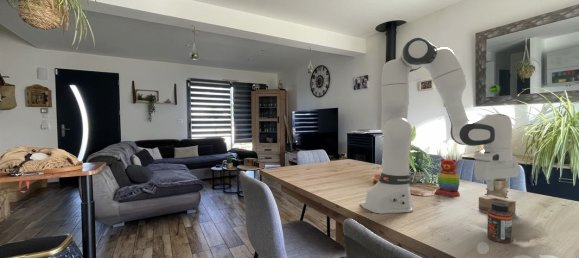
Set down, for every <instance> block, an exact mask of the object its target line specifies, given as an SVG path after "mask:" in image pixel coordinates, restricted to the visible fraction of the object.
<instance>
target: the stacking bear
mask: <svg viewBox="0 0 579 258" xmlns="http://www.w3.org/2000/svg"><path fill="white" fill-rule="evenodd" d="M440 168H441V169H440V170H439V173H438V176H437V183H438V188H437V189H435V190H436V192H435V193H434V194H435V195H437V196H439V195H440V196H446V197H450V198H457V197H458V198H459V197H460V195H461V193H460V192H459V187H460V178H459V175H458V172H457V171H456V168H457V160H456V159H454V158H453V159H449V158H448V159H447V158H446V159H445V158H441V159H440Z"/></svg>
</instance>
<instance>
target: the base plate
mask: <svg viewBox="0 0 579 258" xmlns="http://www.w3.org/2000/svg"><path fill="white" fill-rule="evenodd" d="M470 209H471V210H474V211H476V212H479V213H480V212H481V213H483V214H486V215H488V212H487V211H484V210H480V209H479V206H478V207H472V208H471V207H470ZM519 216H524V214H523V213H519V212H516V211H515V214H514V215H512V218H514V217H519Z"/></svg>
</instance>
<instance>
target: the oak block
mask: <svg viewBox="0 0 579 258" xmlns="http://www.w3.org/2000/svg"><path fill="white" fill-rule="evenodd" d="M493 184H494V186H495V190H494V191H491V190H488V185H487V184H486V188H487V190H486V193H487V194H489V195H493V196H497V197H503V196H506V197H508V192H507V191H508V182H507V180H502V179H494V182H493Z"/></svg>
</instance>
